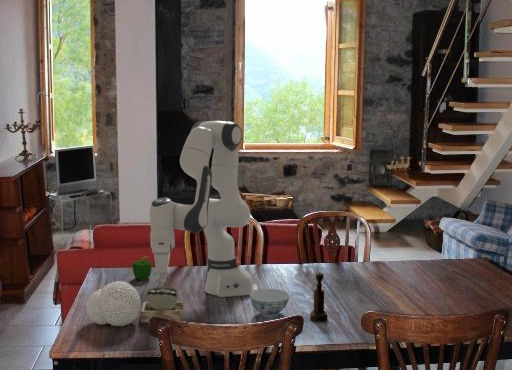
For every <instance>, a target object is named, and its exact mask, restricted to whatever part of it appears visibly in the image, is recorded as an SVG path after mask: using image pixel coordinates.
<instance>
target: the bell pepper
mask: <svg viewBox="0 0 512 370" xmlns="http://www.w3.org/2000/svg"><path fill="white" fill-rule="evenodd" d="M147 259H148V256H143V257H142V258H141V260H138V259H137V260H135V261H134V262H133V263H132V272H133V273H132V274H133V275H134V278H135V279H136V280H139V281H146V280H147V279H150V276H151V272H152V268H153V267H152V262H151V260H150V261H149V260H147Z"/></svg>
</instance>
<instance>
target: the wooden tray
mask: <svg viewBox="0 0 512 370" xmlns="http://www.w3.org/2000/svg"><path fill="white" fill-rule="evenodd" d="M141 306H142V307H141V308H140V323H149V322H148V320H149V319H150V317H152V316H161V317H166V318H172V319H181V320H182V321H183V315H184V301H176V310H149V303H148V301H144V302H143V304H142V305H141Z"/></svg>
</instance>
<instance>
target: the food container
mask: <svg viewBox="0 0 512 370" xmlns="http://www.w3.org/2000/svg"><path fill="white" fill-rule="evenodd" d="M145 296H147V302H148V303H149V310H176V302H177V298H179V292H178V289H176V288H175V287H171V286H155V287H151V288H148V289H147V290H146V293H145Z"/></svg>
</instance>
